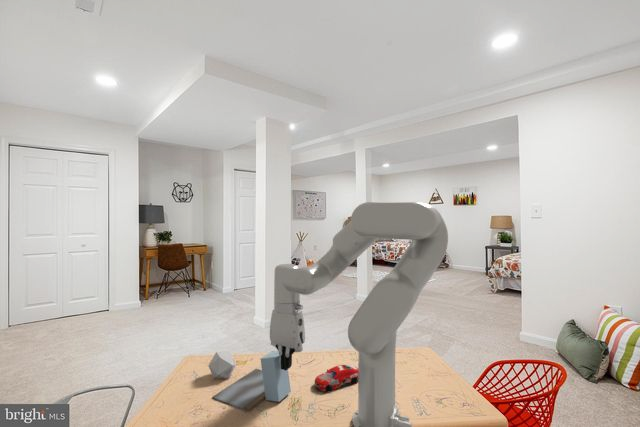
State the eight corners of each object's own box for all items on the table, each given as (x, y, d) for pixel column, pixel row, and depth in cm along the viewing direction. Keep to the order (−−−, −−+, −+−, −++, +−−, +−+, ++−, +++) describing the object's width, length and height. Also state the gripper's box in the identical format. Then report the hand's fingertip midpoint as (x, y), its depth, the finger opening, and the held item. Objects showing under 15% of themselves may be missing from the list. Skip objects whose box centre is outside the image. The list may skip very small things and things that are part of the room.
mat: (288, 379, 107) (288, 376, 107) (248, 412, 89) (248, 408, 89) (256, 369, 114) (256, 366, 114) (212, 398, 96) (212, 394, 96)
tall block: (290, 391, 98) (285, 351, 99) (279, 401, 93) (273, 359, 94) (277, 390, 100) (272, 350, 101) (265, 399, 95) (260, 358, 96)
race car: (320, 395, 98) (320, 379, 98) (310, 385, 104) (310, 370, 104) (364, 382, 106) (364, 367, 106) (352, 373, 111) (352, 359, 111)
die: (220, 387, 103) (238, 359, 106) (199, 372, 104) (217, 345, 107) (227, 384, 111) (243, 358, 114) (207, 369, 112) (224, 344, 115)
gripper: (315, 307, 95) (314, 369, 95) (274, 299, 102) (273, 357, 102) (301, 313, 88) (300, 380, 88) (258, 305, 95) (258, 367, 96)
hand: (286, 368), depth 95 cm, fingers closed
